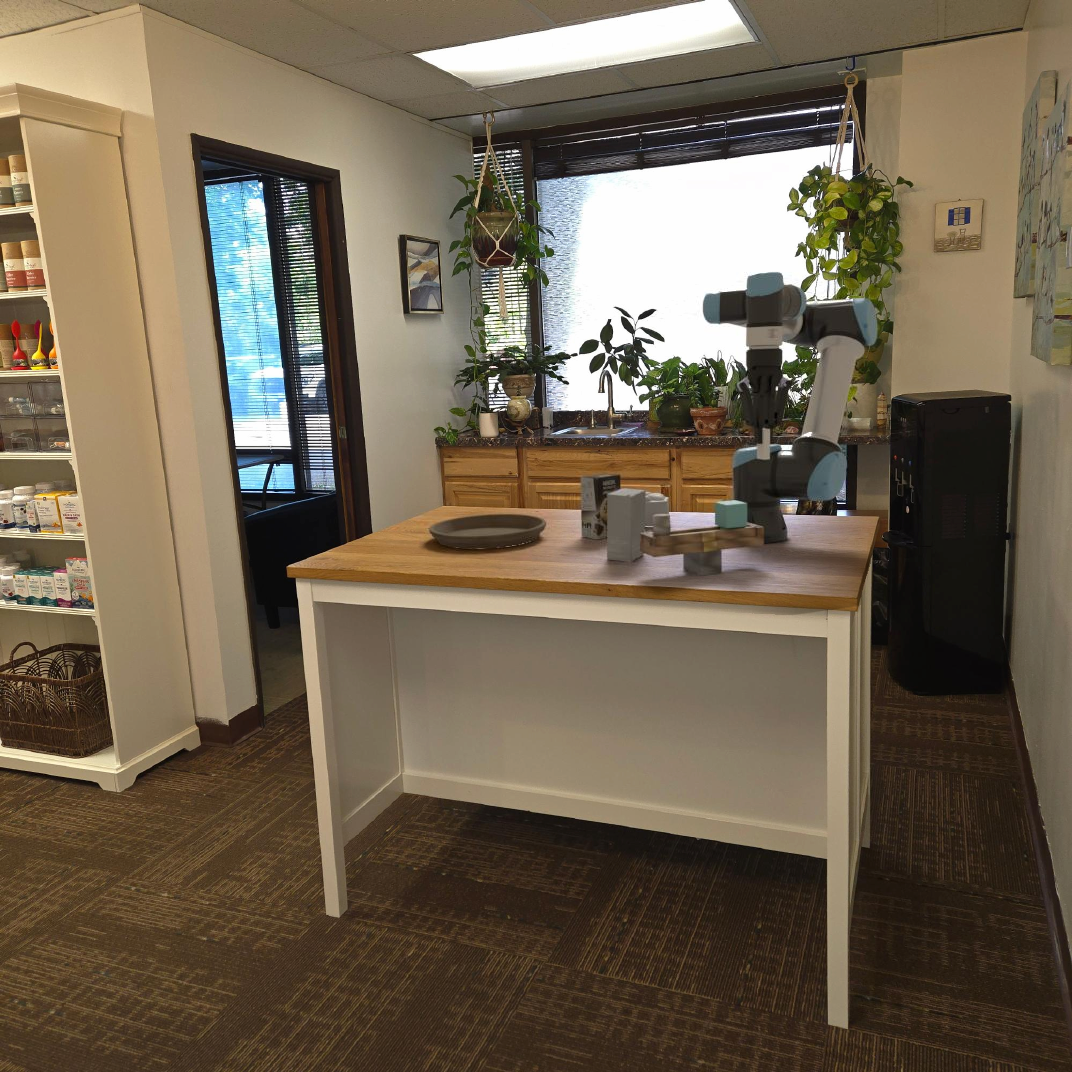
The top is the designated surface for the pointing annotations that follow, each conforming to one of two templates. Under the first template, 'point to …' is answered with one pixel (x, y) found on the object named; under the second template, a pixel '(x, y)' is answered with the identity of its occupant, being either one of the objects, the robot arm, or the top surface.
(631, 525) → the skincare box
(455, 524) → the plant saucer
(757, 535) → the beam
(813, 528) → the top surface
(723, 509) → the block
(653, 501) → the lumpy-topped squat cylinder
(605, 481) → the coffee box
